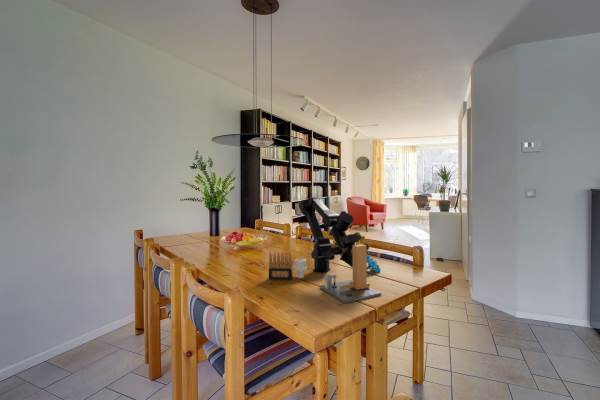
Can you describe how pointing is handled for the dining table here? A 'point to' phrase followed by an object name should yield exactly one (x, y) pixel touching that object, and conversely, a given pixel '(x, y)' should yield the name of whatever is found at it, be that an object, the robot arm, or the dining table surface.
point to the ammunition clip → (276, 270)
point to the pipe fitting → (300, 267)
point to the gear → (372, 264)
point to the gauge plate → (347, 290)
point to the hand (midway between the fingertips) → (356, 269)
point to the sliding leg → (359, 268)
